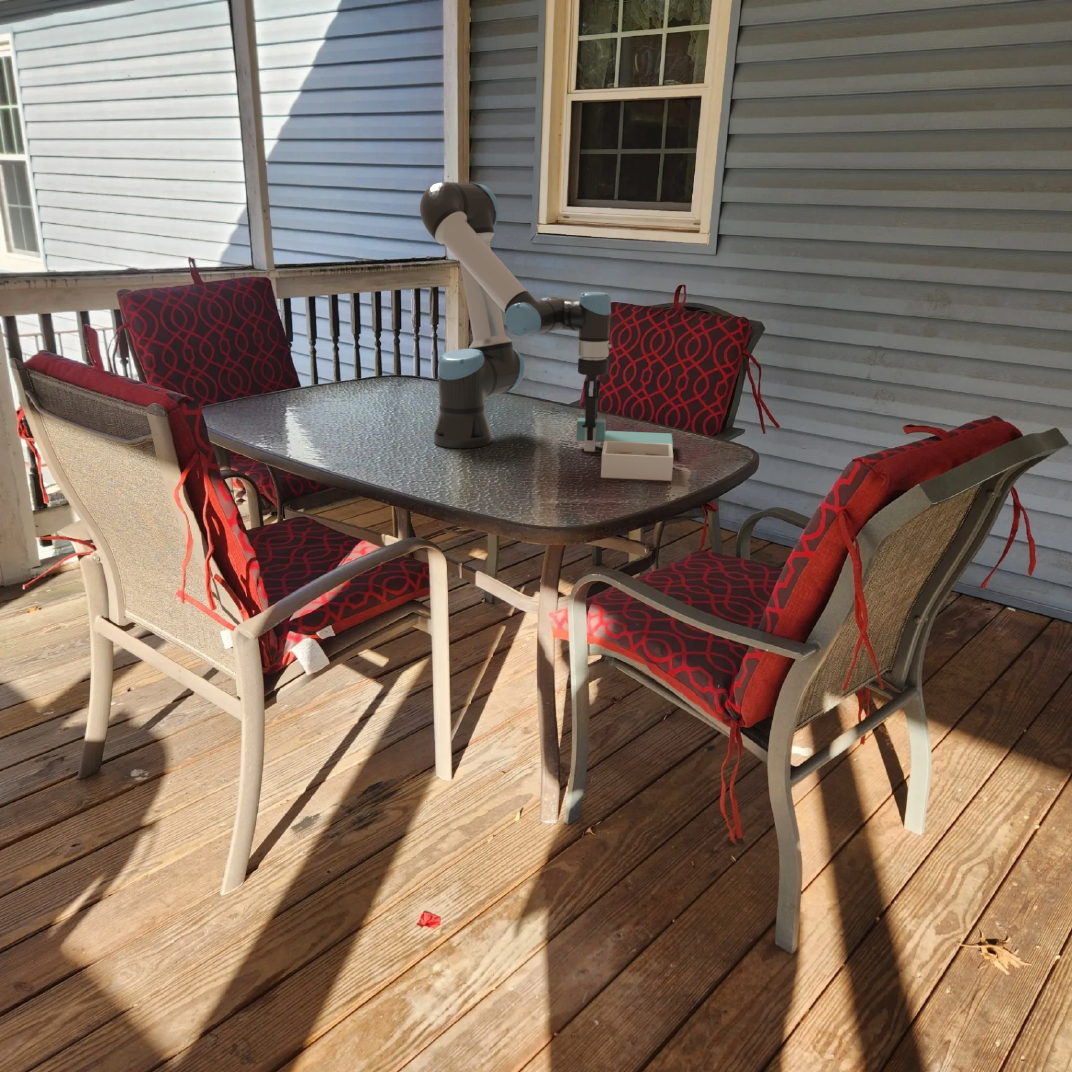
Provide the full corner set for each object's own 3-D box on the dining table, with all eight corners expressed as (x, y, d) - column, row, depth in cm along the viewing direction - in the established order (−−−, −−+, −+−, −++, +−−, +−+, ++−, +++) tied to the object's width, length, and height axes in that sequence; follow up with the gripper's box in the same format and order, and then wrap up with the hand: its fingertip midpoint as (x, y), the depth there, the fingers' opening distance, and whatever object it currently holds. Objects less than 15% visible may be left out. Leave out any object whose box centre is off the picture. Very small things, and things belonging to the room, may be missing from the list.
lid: (575, 445, 212) (575, 425, 210) (578, 432, 224) (579, 413, 222) (672, 449, 209) (674, 429, 207) (671, 436, 221) (672, 417, 219)
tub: (600, 479, 195) (601, 454, 193) (603, 465, 206) (604, 441, 204) (671, 483, 193) (673, 457, 191) (670, 468, 204) (671, 443, 202)
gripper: (607, 363, 202) (603, 459, 210) (610, 352, 218) (606, 441, 226) (575, 362, 203) (572, 457, 211) (580, 351, 218) (577, 440, 227)
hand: (590, 449), depth 218 cm, fingers closed on lid, 4 cm apart
